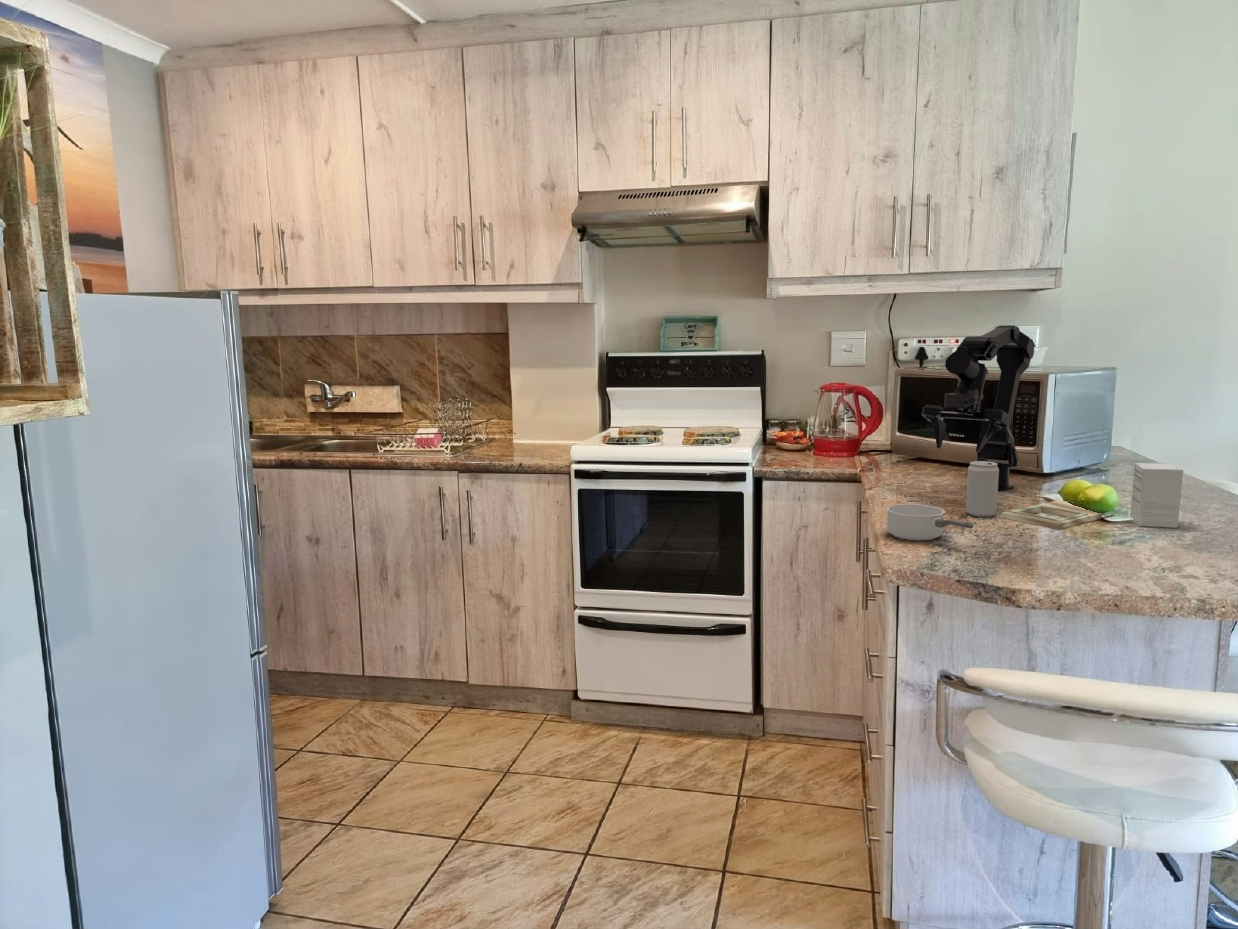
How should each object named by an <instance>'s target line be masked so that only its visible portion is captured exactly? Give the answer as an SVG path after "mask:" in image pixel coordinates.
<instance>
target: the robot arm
mask: <svg viewBox="0 0 1238 929" xmlns="http://www.w3.org/2000/svg"><path fill="white" fill-rule="evenodd" d="M1034 355H1035V347H1034V344H1033V342H1032V339H1031V338H1030V337H1029V336H1028V335H1027V334H1025V333H1023V332H1022V331H1021V330H1020V328H1019V326H1017V325H1013V324H1011V325H999V326H996V327H995V328H994V329H991V330H990V331H988V332H986V333H984V334H983V335H971V336H970V335H968V336H965V337H964V338H963V340H962V341H961V342H960V344H959V345H958V346H956V350H955V351H953V352H952V353H950V355H948V357H947V358H946V359H945V362H944V363H945V364H944V365H945V369H946V371H948V372H949V373H950V374H951V375H952V376H953V377H955V378H956V379H957V380H958V383H957V386H956V387H955V388H954V390H953V392H950V393H945V394H944V404H943V405H944V407H943V406H941V405H935V404H934V405H933V404H925V406H924V407H923V408H922V412H921V416H922V417H924V418H925V419H926V420H927V421H928V422H930V423H931V425H932V427H933V431H934V439H935V443H936V449H938V450H941V447H942V445H943V441H944V436H945V432H946V427H947V423H946V422H945V421H946V420H947V419H955V420H956V419H957V420H958V419H959V420H970V421H971V420H973V421H975V420H976V421H980V424H981V425H980V432H979V435H978V439H977V442H976V448H975V452H976V454H977V457H976V458H977V461H987V462H994V463H997V467H998V468H999V478H998V491H1003V490H1004V491H1005V490H1008V489H1009V490H1010V489H1014V488H1015V485H1011V484H1010V473H1011V472H1010V470H1011V468H1013V467H1014V468H1015V467H1018V463H1019V455H1018V452H1017V449H1016V446H1015V437H1014V436H1013V434H1012V431H1011V424H1012V419H1013V413H1014V409H1015V404H1016V400H1017V399H1016V398H1017V396H1018V395H1017V394H1018V389H1019V384H1020V380H1021V375H1022V374H1024V372H1026V370H1028V369H1029V367H1030V364H1031V360H1032V359H1033V357H1034ZM995 357H996V363H997V365H998V367H999V370H1000V375H999V380H998V385H997V390H996V394H995V395H996V396H995V399H994V400H995V402H994V405H993V408H988V407H986V408H985V409H984V412H981V411H980V408H981V407H980V406H981V404H982V402H981V401H982V400H984V397H985V395H984V394H983V391H984V387H985V383H986V377H987V375H989V370H988V368H987V367H986V364H985V363H981V361H983V362H984V361H985V362H987V361H989V362H991V361H992V360H993V359H994V358H995ZM946 408H949V409H950V410H949V409H946Z"/></svg>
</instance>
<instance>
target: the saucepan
mask: <svg viewBox="0 0 1238 929" xmlns="http://www.w3.org/2000/svg"><path fill="white" fill-rule="evenodd" d="M885 509H886V512H887V520H886V521H887V524H886V525H887V526H886V530H887V532H888V533H889V534H891V535H892V536H893V535H894V537H895V538H897V537H899V538H898V539H900V538H903V539H902V540H904V539H908V540H907V541H910V540H929V539H933V538H935V539H936V538H939V537H941V536H942V535H943V528H945V527H947V526H949V525H952V526H956V527H962V528H966V529H973V527H974V524H973V523H969V522H964V521H959V520H955V519H945V518H944V514H945V513H946V510H944V509H943V508H941V507H938V506H932V505H928V504H917V503H899V504H897V503H896V504H892V505H889V506H886V507H885ZM933 540H934V539H933ZM929 541H930V540H929Z"/></svg>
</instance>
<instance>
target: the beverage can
mask: <svg viewBox="0 0 1238 929" xmlns="http://www.w3.org/2000/svg"><path fill="white" fill-rule="evenodd" d="M998 478H999V468H998V467H997V463H994V462H987V461H978V460H974V461H971V462H970V463H969V466H968V467H967V479H966V480H967V483H966V485H967V486H966V498H965V499H966V500H965V501H966V502H965V511H966V513H967V514H968V515H969V514H970V515H969V516H971V515H973V516H972V517H976V516H977V517H978V518H991V517H993V516H994V515H996V514H997V511H998V510H997V509H998V507H997V506H998V496H999V495H998V494H999V493H998V492H999V490H998Z"/></svg>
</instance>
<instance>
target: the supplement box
mask: <svg viewBox="0 0 1238 929" xmlns="http://www.w3.org/2000/svg"><path fill="white" fill-rule="evenodd" d="M1183 475H1184V470H1183V469H1182V468H1181V467H1179V466H1177V465H1175V464H1173V463H1149V462H1148V463H1147V462H1146V463H1144V462H1141V463H1140V462H1134V468H1133V479H1132V490H1131V491H1132V493H1131V504H1130V515H1129V518H1130V517H1132V518H1133V520H1132V521H1133V522H1134V524H1136V525H1137V526H1138V527H1148V528H1149V527H1152V528H1173V529H1174V528H1175V529H1177V528H1179V518H1180V509H1181V508H1180V506H1181V498H1182V497H1181V495H1182V488H1183V487H1182V486H1183V477H1184V476H1183Z"/></svg>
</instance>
